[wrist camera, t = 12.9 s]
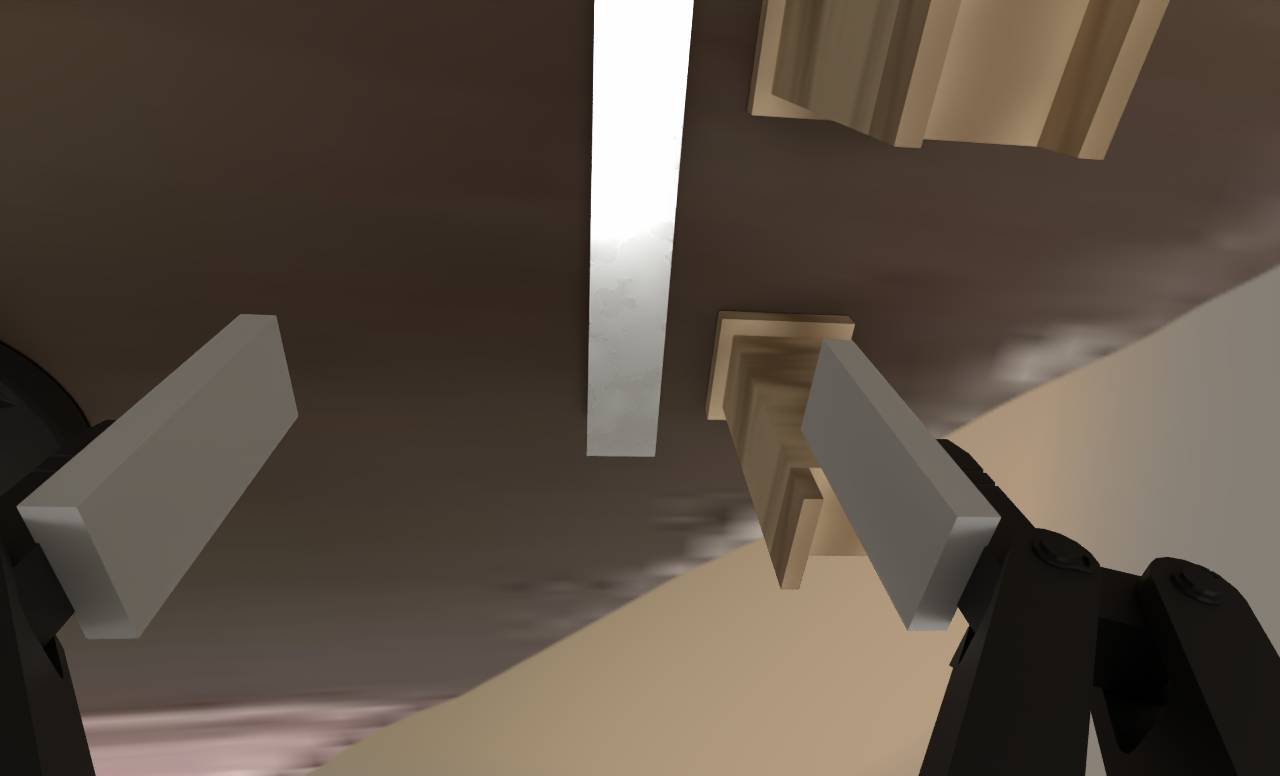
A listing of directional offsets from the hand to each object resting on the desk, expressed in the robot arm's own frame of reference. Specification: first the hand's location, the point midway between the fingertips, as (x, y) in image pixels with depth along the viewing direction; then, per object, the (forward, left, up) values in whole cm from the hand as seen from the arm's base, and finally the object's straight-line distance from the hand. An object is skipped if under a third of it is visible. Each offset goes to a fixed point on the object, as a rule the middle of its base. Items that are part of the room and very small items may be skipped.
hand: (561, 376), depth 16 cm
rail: (+3, -1, -21) cm, 21 cm away
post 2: (+12, +8, -21) cm, 25 cm away
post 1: (+12, -10, -21) cm, 26 cm away
